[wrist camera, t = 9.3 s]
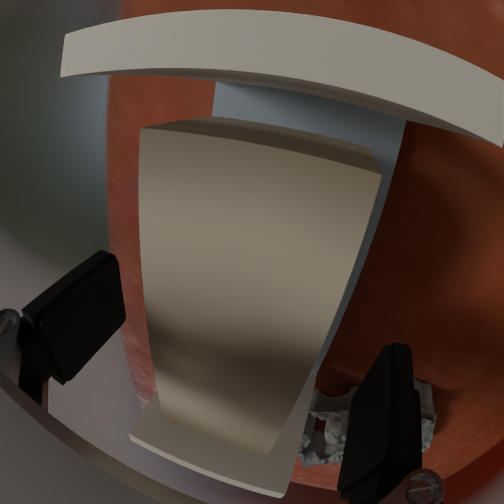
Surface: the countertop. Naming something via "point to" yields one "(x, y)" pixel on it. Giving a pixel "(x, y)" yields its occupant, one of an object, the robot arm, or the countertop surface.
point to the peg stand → (300, 118)
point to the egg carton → (337, 415)
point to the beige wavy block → (244, 265)
